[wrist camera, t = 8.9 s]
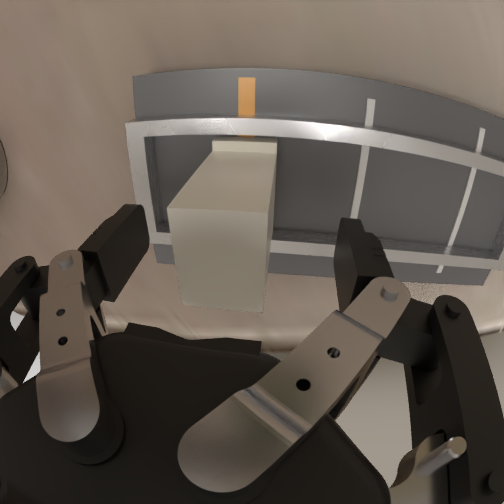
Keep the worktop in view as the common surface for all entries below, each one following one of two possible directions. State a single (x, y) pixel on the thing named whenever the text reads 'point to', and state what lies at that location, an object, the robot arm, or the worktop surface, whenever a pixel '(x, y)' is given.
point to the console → (333, 165)
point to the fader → (226, 225)
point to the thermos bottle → (2, 170)
